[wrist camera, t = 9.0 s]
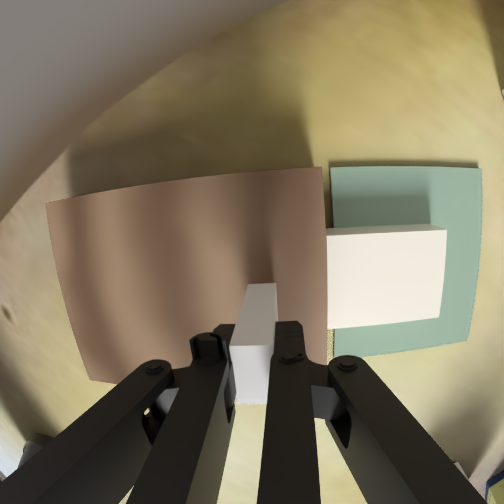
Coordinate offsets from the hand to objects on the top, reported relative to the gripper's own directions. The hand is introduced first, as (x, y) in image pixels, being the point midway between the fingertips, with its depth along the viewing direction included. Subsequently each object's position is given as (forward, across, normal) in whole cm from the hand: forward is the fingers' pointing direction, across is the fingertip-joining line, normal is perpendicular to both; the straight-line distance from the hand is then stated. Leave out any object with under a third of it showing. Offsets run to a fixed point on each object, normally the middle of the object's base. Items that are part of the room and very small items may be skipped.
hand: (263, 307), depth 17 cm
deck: (+5, -5, 0) cm, 7 cm away
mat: (+5, +11, 0) cm, 12 cm away
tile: (+5, +8, 0) cm, 9 cm away
